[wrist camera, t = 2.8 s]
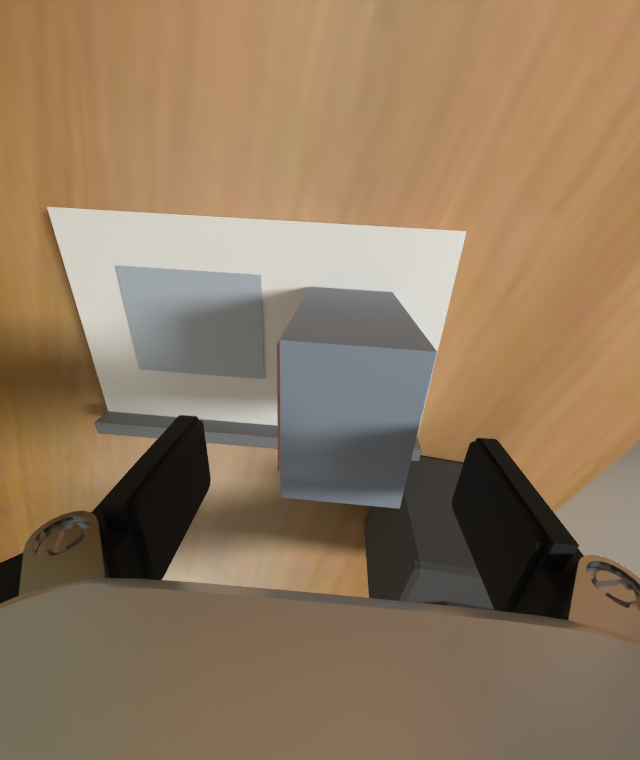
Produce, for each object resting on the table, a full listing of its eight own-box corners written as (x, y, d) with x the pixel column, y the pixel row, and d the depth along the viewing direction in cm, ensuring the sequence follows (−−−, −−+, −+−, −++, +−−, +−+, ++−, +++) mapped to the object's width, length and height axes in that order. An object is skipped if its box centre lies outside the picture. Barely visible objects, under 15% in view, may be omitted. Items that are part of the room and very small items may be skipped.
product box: (392, 292, 19) (436, 351, 10) (376, 393, 22) (399, 508, 13) (305, 286, 19) (270, 339, 10) (302, 387, 22) (273, 496, 13)
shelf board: (457, 231, 18) (476, 231, 16) (410, 439, 25) (418, 464, 22) (67, 208, 19) (22, 205, 17) (124, 414, 26) (99, 436, 23)
